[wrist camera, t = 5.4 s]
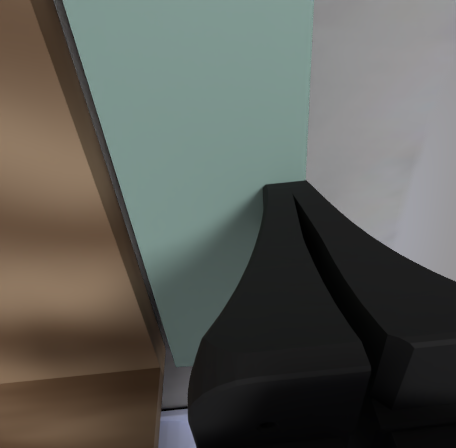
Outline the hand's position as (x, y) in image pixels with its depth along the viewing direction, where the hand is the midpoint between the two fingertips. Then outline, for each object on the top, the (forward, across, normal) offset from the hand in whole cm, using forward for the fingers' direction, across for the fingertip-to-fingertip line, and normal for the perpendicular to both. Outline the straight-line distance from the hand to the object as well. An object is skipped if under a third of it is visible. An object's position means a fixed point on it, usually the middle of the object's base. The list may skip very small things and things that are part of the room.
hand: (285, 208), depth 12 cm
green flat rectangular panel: (+1, +5, 0) cm, 5 cm away
